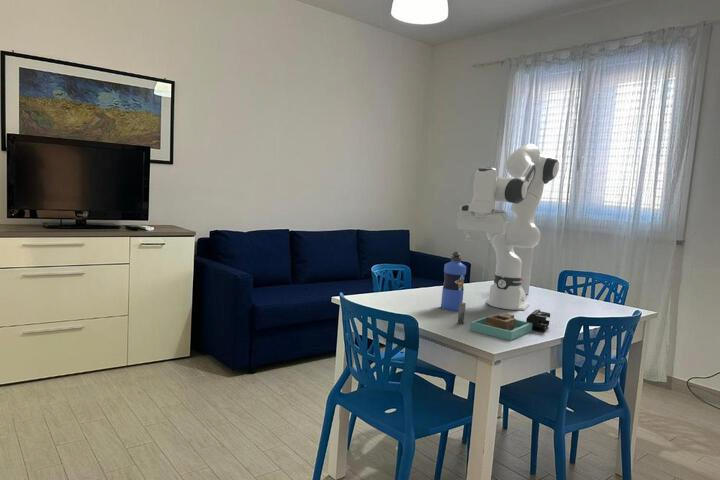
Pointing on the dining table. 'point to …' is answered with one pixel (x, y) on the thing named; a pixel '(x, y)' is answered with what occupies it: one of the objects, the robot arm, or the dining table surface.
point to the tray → (518, 331)
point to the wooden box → (501, 321)
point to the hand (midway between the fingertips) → (478, 243)
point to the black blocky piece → (539, 320)
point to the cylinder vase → (525, 265)
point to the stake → (461, 313)
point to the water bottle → (453, 283)
